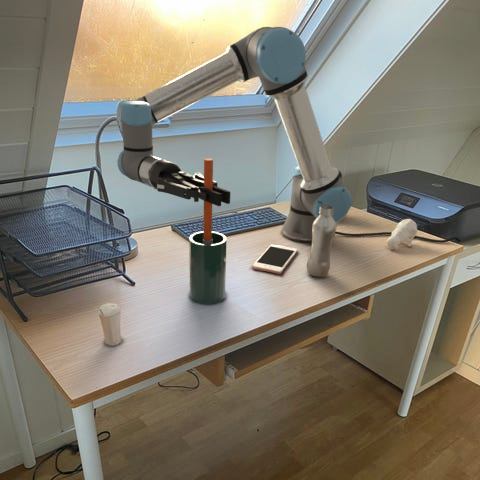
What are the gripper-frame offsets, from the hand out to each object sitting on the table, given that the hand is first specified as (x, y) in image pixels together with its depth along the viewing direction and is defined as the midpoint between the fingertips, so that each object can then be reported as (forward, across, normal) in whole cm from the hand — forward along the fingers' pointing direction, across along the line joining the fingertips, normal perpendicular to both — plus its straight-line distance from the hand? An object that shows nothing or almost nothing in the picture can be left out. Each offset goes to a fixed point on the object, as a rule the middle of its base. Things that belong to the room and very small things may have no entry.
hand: (224, 198), depth 106 cm
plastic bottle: (+5, -33, -27) cm, 43 cm away
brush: (-6, 0, -20) cm, 21 cm away
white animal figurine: (+10, -70, -27) cm, 76 cm away
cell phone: (-9, -30, -27) cm, 42 cm away
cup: (-5, 0, -27) cm, 28 cm away
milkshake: (-3, +30, -28) cm, 41 cm away
